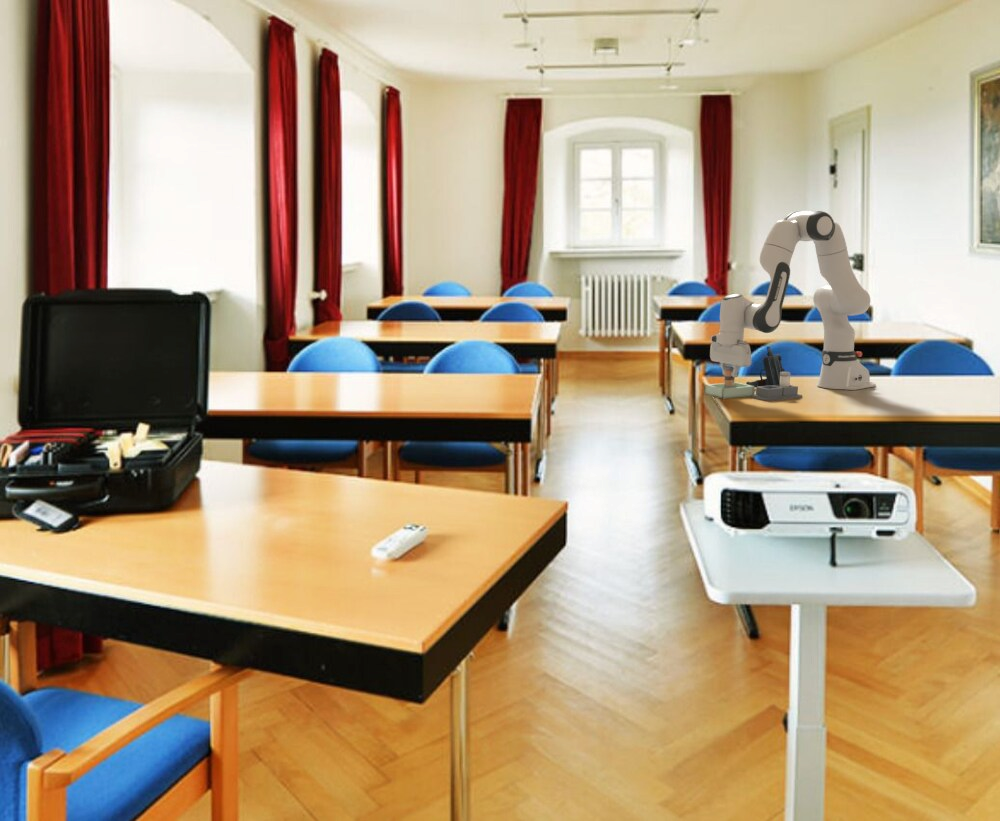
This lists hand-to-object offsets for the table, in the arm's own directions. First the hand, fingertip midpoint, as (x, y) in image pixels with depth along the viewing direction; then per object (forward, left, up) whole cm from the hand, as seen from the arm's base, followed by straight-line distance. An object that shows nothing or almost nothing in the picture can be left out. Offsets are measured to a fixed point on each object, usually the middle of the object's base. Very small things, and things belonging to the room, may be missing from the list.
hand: (729, 376), depth 376 cm
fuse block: (-12, +12, -7) cm, 19 cm away
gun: (-19, -2, -7) cm, 21 cm away
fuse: (-16, +12, -6) cm, 21 cm away
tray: (0, 0, -7) cm, 7 cm away
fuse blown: (0, 0, -5) cm, 5 cm away
